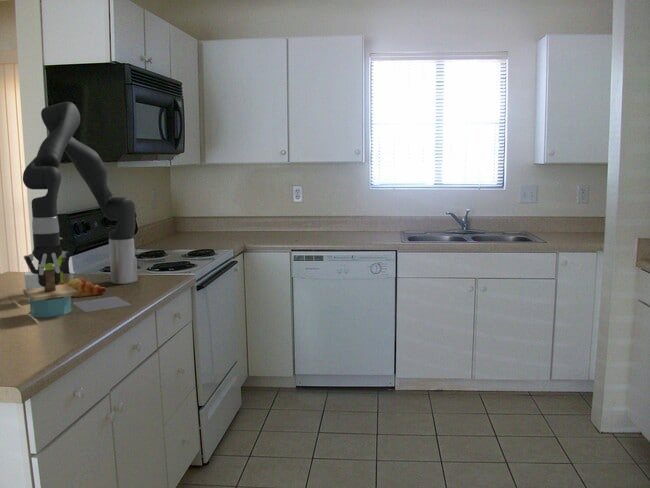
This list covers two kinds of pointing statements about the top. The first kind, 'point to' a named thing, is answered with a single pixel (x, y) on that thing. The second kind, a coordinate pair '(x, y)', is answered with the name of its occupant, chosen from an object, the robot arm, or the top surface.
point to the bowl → (50, 307)
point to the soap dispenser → (50, 266)
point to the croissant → (84, 287)
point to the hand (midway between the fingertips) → (49, 285)
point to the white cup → (31, 281)
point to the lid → (49, 288)
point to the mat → (101, 304)
